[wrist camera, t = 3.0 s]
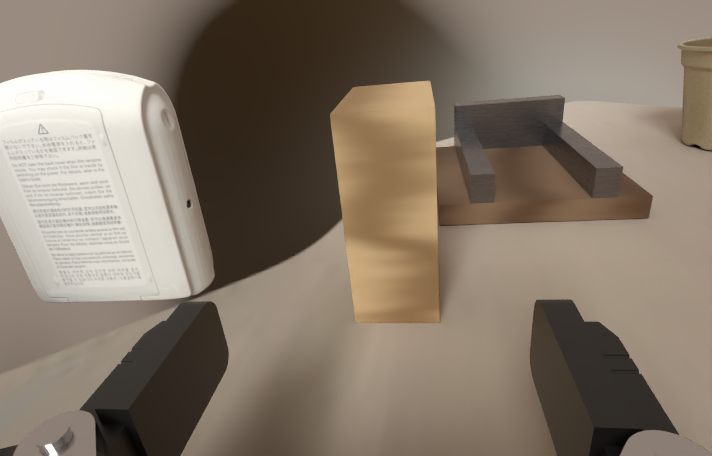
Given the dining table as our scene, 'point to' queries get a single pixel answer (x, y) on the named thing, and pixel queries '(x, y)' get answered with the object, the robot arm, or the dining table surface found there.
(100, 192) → the photo printer
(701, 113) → the flower pot
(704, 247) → the dining table surface
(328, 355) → the dining table surface
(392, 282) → the oak plank
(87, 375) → the dining table surface
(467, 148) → the cradle
